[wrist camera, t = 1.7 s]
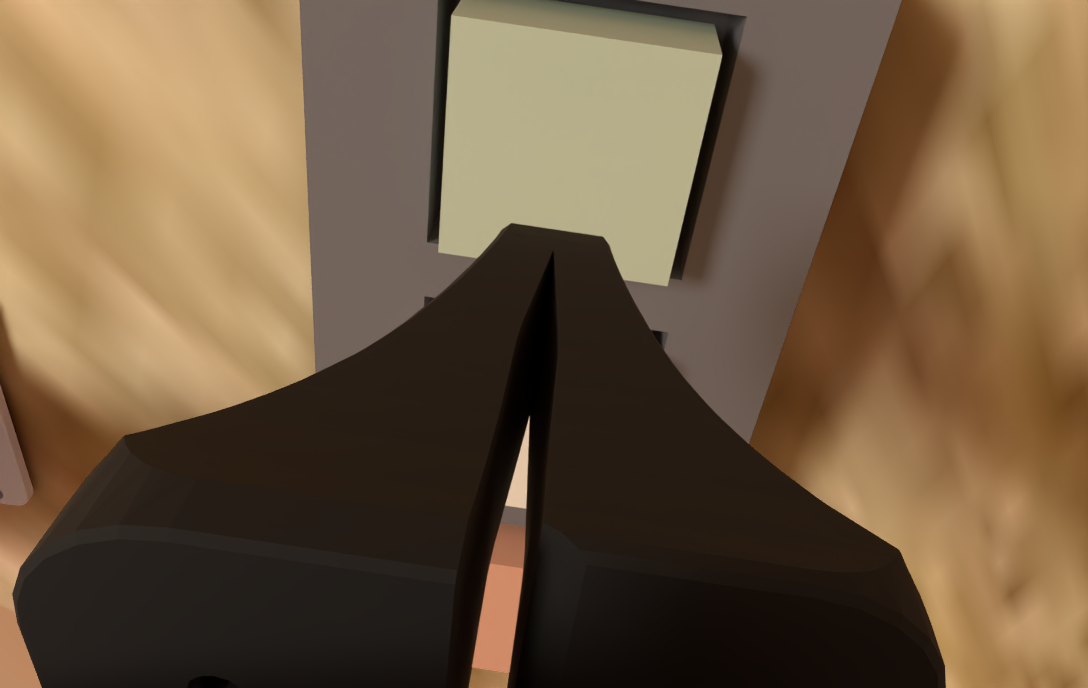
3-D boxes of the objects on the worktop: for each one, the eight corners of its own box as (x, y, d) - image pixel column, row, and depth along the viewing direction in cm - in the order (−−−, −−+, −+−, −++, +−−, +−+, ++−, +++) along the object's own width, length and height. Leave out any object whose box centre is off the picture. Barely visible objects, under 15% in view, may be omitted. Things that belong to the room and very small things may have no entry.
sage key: (454, 209, 18) (438, 252, 17) (468, -13, 15) (451, 15, 14) (665, 240, 18) (667, 286, 17) (714, 24, 15) (722, 55, 14)
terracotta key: (428, 606, 26) (416, 659, 24) (435, 500, 23) (421, 553, 22) (576, 627, 26) (573, 682, 24) (600, 525, 23) (597, 579, 22)
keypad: (354, 562, 28) (327, 641, 26) (345, -134, 17) (294, -110, 14) (660, 608, 28) (663, 691, 26) (868, -57, 16) (908, -19, 14)
